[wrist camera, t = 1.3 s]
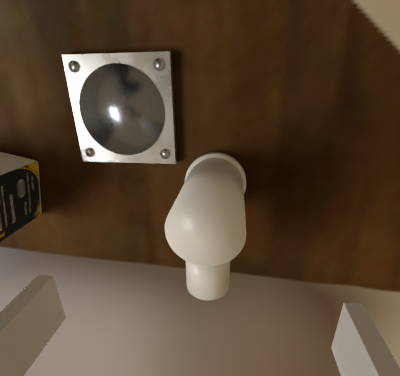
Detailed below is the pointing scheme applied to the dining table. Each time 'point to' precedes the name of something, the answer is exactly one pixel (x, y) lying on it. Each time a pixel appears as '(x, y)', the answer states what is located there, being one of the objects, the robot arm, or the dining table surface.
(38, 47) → the dining table surface
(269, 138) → the dining table surface
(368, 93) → the dining table surface
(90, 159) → the flange plate
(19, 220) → the medicine bottle
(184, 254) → the elbow
